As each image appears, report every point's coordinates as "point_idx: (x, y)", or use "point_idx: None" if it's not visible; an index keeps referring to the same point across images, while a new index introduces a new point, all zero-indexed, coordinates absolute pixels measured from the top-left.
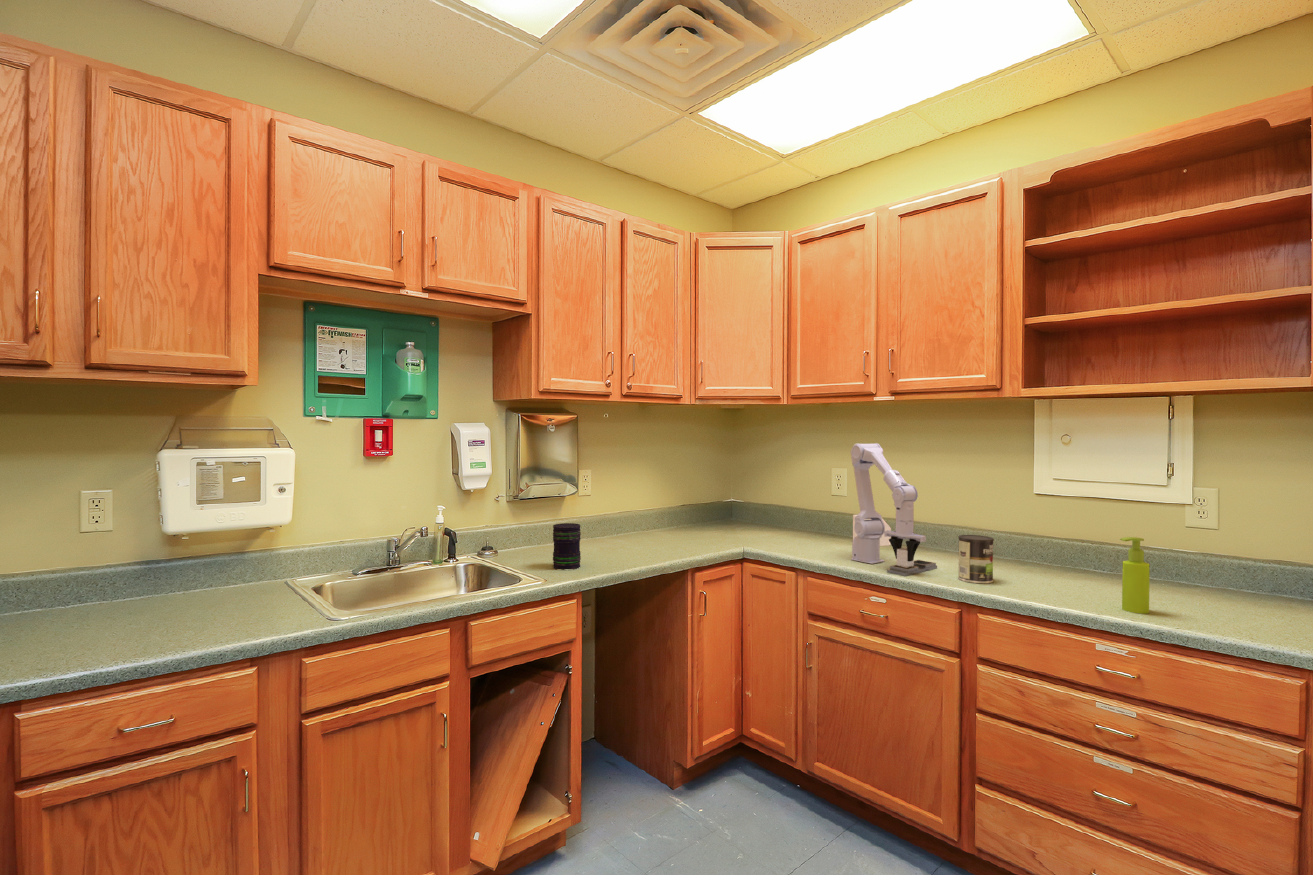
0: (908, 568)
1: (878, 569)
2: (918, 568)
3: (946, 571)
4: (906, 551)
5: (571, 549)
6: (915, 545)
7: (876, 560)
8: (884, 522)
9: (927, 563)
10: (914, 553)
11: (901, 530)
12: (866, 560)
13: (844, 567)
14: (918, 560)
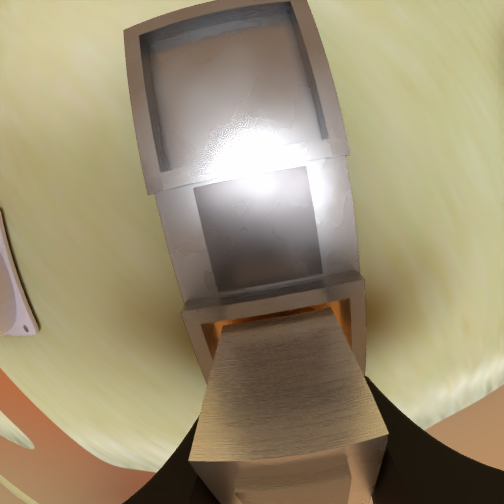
0: (285, 315)
1: (154, 401)
2: (360, 276)
3: (398, 37)
4: (355, 497)
5: None
6: (456, 498)
7: (9, 289)
8: None
9: (230, 17)
10: (406, 422)
11: None
12: (8, 329)
13: (98, 450)
14: (140, 41)
